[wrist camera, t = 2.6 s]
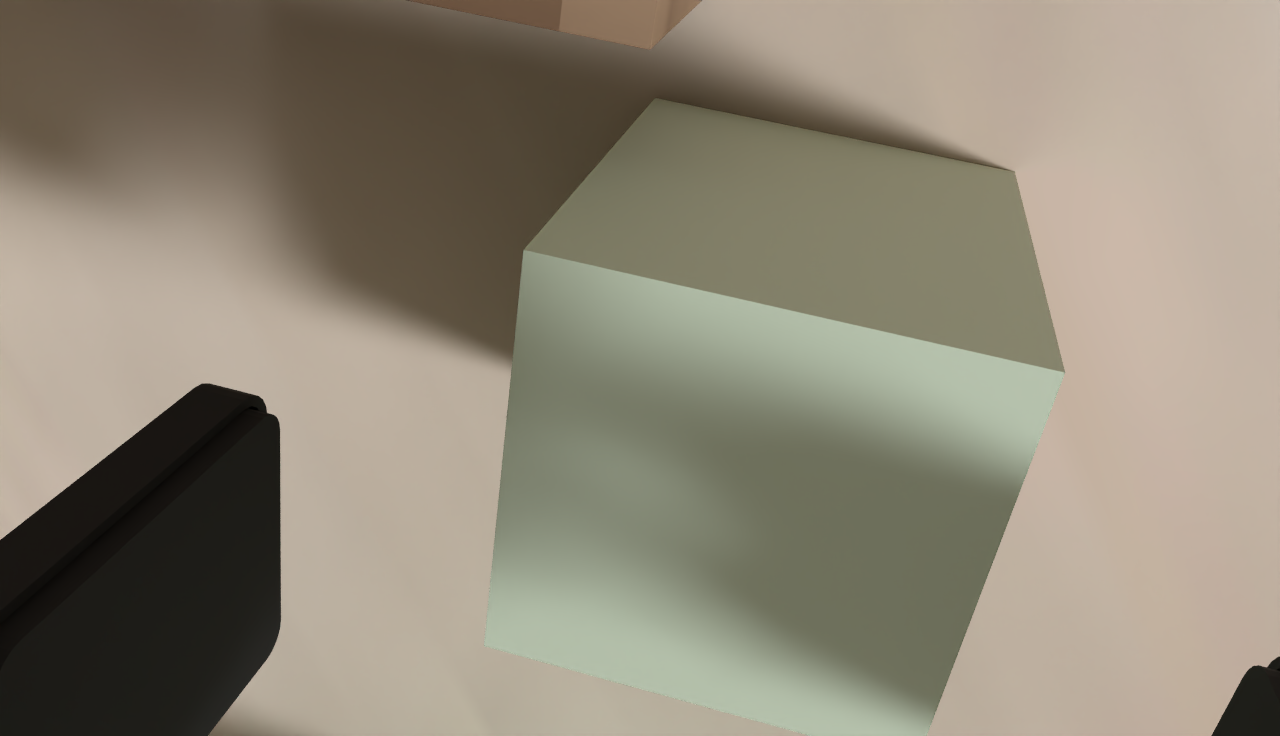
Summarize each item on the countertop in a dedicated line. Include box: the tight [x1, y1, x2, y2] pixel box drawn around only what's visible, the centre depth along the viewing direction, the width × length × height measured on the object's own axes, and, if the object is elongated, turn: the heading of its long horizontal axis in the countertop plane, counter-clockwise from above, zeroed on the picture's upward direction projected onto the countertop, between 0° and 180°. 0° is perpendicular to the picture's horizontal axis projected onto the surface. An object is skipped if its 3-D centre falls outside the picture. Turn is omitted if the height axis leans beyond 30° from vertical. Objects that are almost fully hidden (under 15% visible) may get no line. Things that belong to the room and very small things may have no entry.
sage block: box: [484, 98, 1065, 736], centre depth 14 cm, size 5×5×6 cm
